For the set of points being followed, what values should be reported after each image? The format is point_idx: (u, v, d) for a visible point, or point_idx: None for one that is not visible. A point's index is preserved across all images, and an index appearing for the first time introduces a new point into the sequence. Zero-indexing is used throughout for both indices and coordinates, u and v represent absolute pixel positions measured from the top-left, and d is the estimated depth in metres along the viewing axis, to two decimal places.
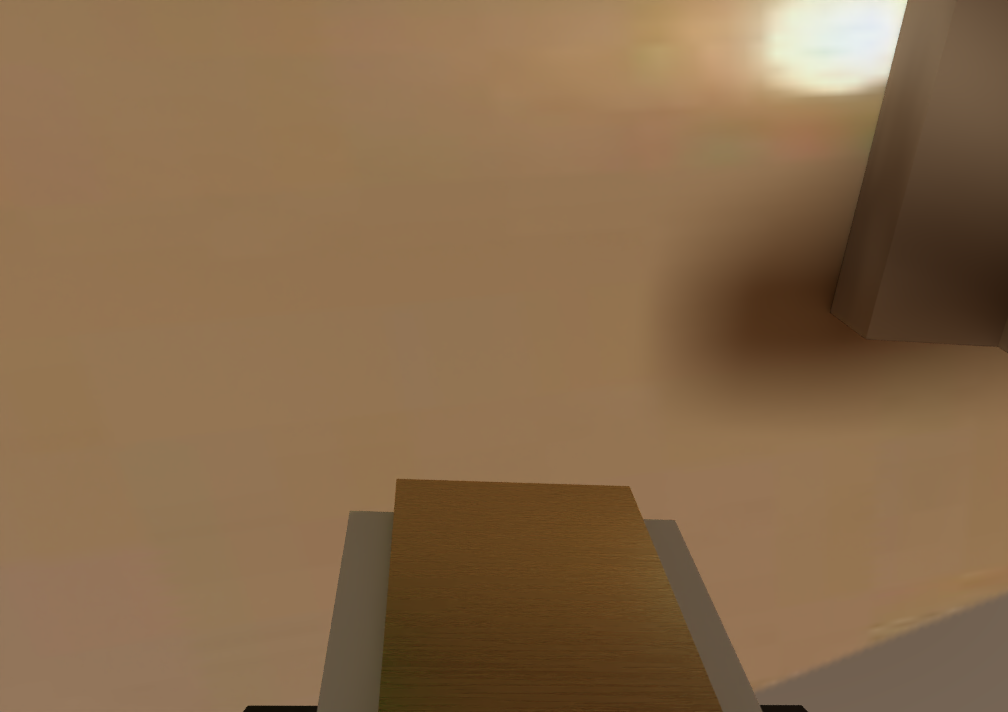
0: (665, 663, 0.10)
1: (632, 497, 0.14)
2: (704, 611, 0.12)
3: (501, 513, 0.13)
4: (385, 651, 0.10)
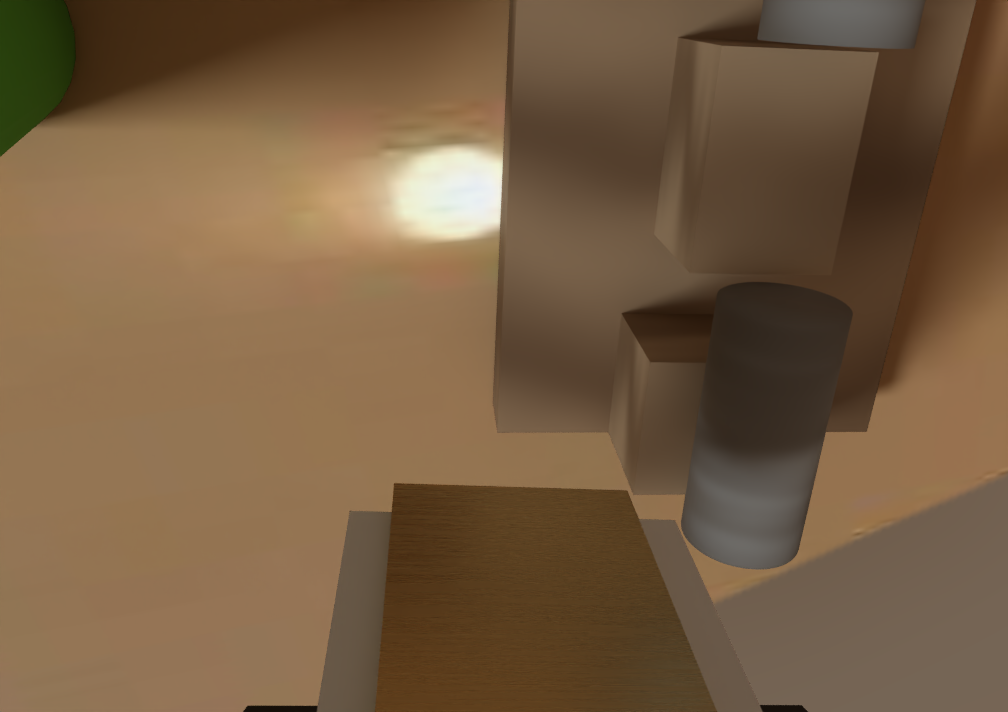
0: (663, 669, 0.10)
1: (630, 501, 0.14)
2: (704, 611, 0.12)
3: (498, 518, 0.13)
4: (382, 657, 0.10)
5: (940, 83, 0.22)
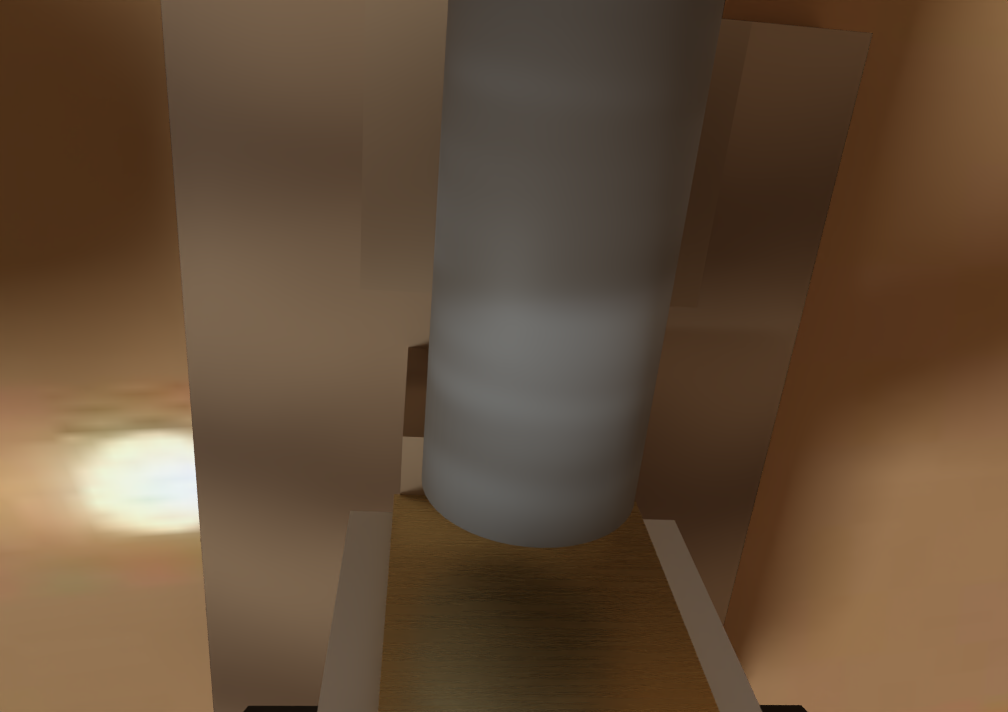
0: (675, 698, 0.10)
1: (638, 513, 0.13)
2: (704, 611, 0.12)
3: None
4: (382, 688, 0.10)
5: (760, 402, 0.17)
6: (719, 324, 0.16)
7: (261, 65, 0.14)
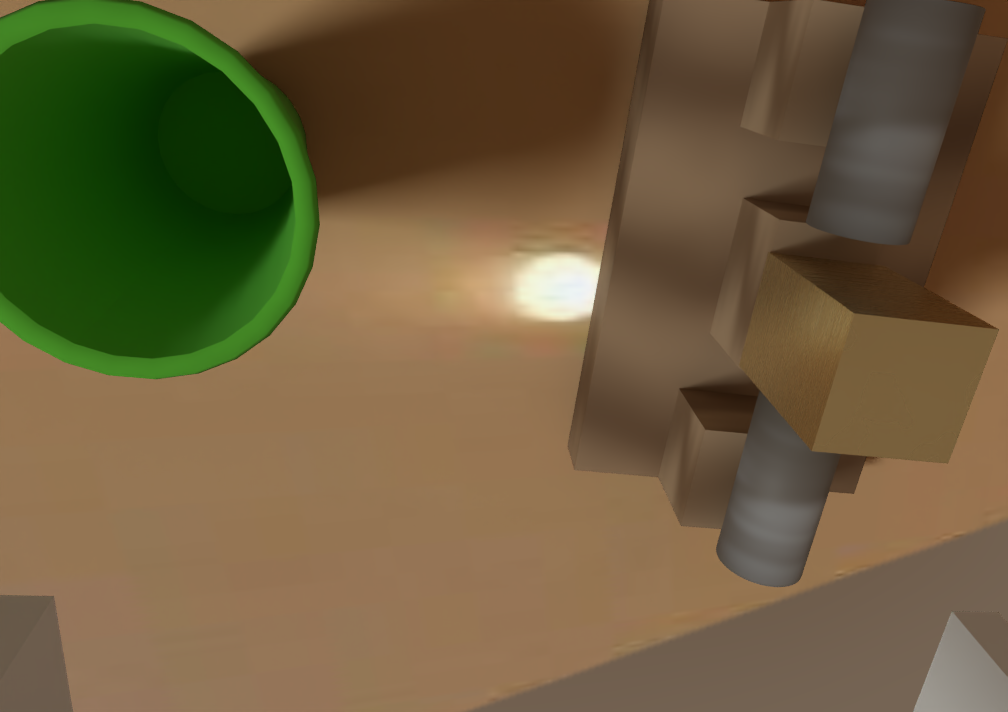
0: (942, 304, 0.23)
1: None
2: None
3: (830, 266, 0.26)
4: (822, 290, 0.23)
5: (927, 244, 0.30)
6: None
7: (702, 38, 0.27)
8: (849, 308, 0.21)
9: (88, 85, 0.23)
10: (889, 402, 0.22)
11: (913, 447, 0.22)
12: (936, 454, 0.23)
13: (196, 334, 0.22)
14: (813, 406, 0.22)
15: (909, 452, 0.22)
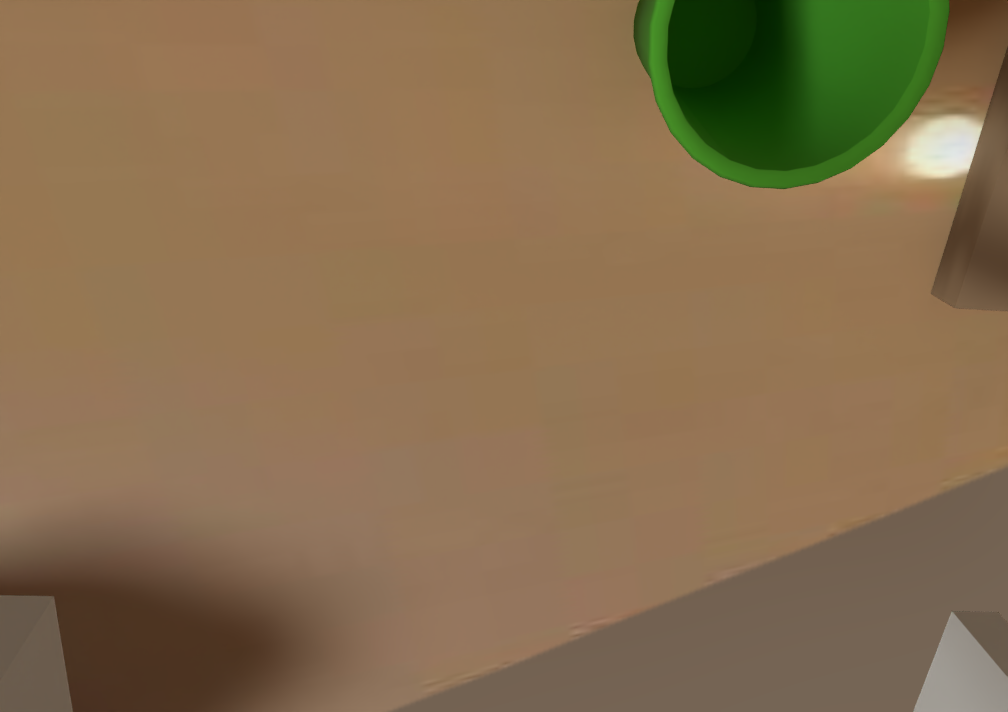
0: None
1: None
2: None
3: None
4: None
5: None
6: None
7: None
8: None
9: None
10: None
11: None
12: None
13: (800, 155, 0.27)
14: None
15: None
